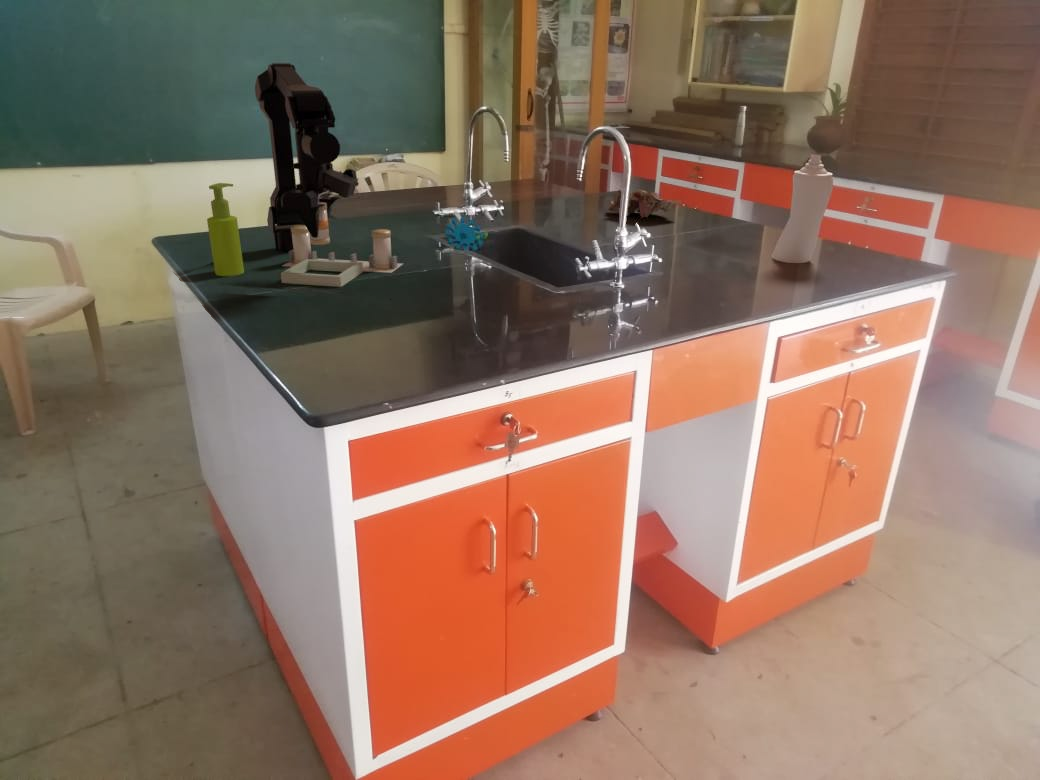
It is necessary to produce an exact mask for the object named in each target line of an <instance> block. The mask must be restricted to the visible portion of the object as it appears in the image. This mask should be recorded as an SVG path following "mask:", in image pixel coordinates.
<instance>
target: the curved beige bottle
mask: <svg viewBox="0 0 1040 780" xmlns="http://www.w3.org/2000/svg"><path fill="white" fill-rule="evenodd" d="M821 158H822V155H821V154H816V153H815V154H810V158H809V159H808V160H807V161H808V162H806V163H805V165H804V167H801V168H800V170H795V171H794V174H793V175H792V192H791V204H790V215H789V219H788V220H787V222H786V224H785V227H784V228H783V231H782V233H781V235H780V237H779V239H778V241H777V243H776V245H775V247H774V250H773V252H772V255H771V259H773V260H775V261H777V262H781V263H788V264H805V263H809V262H810V260H811V258H812V256H813V254H814V252H815V250H816V246H817V242H818V238H819V235H820V234H819V233H820V229H821V225H822V220H823V218H824V216H825V213H826V209H827V206H828V205H829V202H830V199H831V196H832V193H833V192H834V177H833V173H832V172H829V171H827V169H825V168H824V167H825V164H822V163H823V162H822V160H821Z"/></svg>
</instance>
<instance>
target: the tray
mask: <svg viewBox="0 0 1040 780" xmlns="http://www.w3.org/2000/svg"><path fill="white" fill-rule="evenodd" d="M308 271H325V272H326V271H327V272H337V273H338V272H340V273H339V274H321V273H319V274H318V273H307V272H308ZM362 273H364V271H363V263H362V262H346V261H329V260H312V259H306V260H304V261H302V262H300V263H298V264H297V265H295V266H293V267H289V268H288V269H285V270H284V271H282V272H281V273H280V279H281V284H293V285H308V286H309V285H311V286H324V287H325V286H327V287H339V288H342V287H343V286H344V285H346V284H348V283H349V282H351V281H352V280H353V279H355V278H356V277H357V276H359V275H361V274H362ZM282 290H284V291H285V290H286V291H295V292H296V291H299V292H311V293H312V292H313V293H316V292H317V293H330V294H340V295H342V294H343V293H344V292H343V291H334V290H333V291H329V290H317V289H303V288H301V289H300V288H285V287H282Z"/></svg>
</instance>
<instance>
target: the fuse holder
mask: <svg viewBox="0 0 1040 780" xmlns="http://www.w3.org/2000/svg"><path fill="white" fill-rule="evenodd" d="M287 253H288V259H289V261H288V262H286V263H284V264H282V265H281V266H282V267H289V268H291V267H293V266H295V265H297V264H295V263H294V250H291V251H289V252H287ZM335 254H336V253H335V252H334V251H331V252H329V253H328V254H327V255H328V256H327V257H328V258H319V257H318V255H317V250H313V251H311V253H310V257H311V259H312V260H329V261H346V262H362V263H363V272H372V273H374V272H375V273H387V274H392V273H393V272H394V271H396V270H398V269H399V268H400V267H401V266H403V265H404V263H399V262H398V256H397V255H393V256H391V264H392V268H390V269H383V270H382V269H375V268H374V253H372V254H371V255H368V261H366V260H364V261H363V260H358V259H357V257H358V256H357V253H355V252H354V253H352V254H350V256H349V257H350V260H348V259H336V256H335Z"/></svg>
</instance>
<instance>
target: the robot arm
mask: <svg viewBox="0 0 1040 780" xmlns="http://www.w3.org/2000/svg"><path fill="white" fill-rule="evenodd" d="M254 91H255V97H256V101H257V102H258V103H259V108H260V110H261V112H262V113H263V114H264V116H265V117H266V119H267V120H268V125H269V126H268V127H269V136H270V143H271V145H270V146H271V154H272V155H271V156H272V163H273V164H272V165H273V171H274V173H273V174H274V179H275V180H274V182H275V187H274V189H273V191H272V194H271V196H270V197H269V199H270V200H269V201H270V206H269V207H268V210H267V211H268V213H267V220H266V221H267V222H266V223H267V227H268V231H270V232H271V233H272V234H273V237H274V244H275V245H274V246H275V251H278V252H282V253H288V252H289V251H291V250H293V241H292V232H291V227H292V226H296V225H305V226H306V227H307V229H308V231H309V235H310V234H311V236H312V237H313V238H317V237H318V227H319V211H320V210H321V209H322V208H323V206H324V205H325V204H319V202H325V203H327V218H328V223H329V221H330V216H331V211H332V208H333V206H334V205H335V204H336V203H337V202H338V201H340V199H341V197H342V198H349V197H350V196H354V194H355V189H356V188H357V187H358V186H359V184H360V183H359V181H358V180H359V178H358V177H357V172H356V170H354V169H352V168H347V169H345V170H344V171H343V172H342V171H341V170H340V171H337V170H334V168H333V167H334V166H333V162H335V160H336V159H338V157H339V155H340V152H341V144H340V142H339V139H338V138H337V137H336V135H334V134H333V133H331V132H329V129H331V128H336V123H335V122H336V116H335V114H334V111H333V109H332V106H331V103H330V101H329V100H328V96H326V95H325V93H324V91H323V90H322V89H320V88H318V87H317V86H316V87H315V86H310V85H308V84H307V83H306V82H305V81H304V80H303V78H302V77H301V76H300V75H299V73H298V72H297V71H296V67H295V65H294V64H291V63H290V62H288V63H287V62H285V63H284V62H283V63H282V62H272V63H271V64H268V67H267V69H266V70H265V71H263V72H262V73H261V74H259V75H257V77H256V81H255V84H254ZM291 127H292V129H294V139H295V147H296V148H295V149H296V157H297V159H296V160H297V162H295V160H294V152H293V142H292V131H291ZM294 162H295V163H294ZM295 170H298V177H299V183H296V174H295ZM334 194H337V195H338V197H337V196H335V195H334Z"/></svg>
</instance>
